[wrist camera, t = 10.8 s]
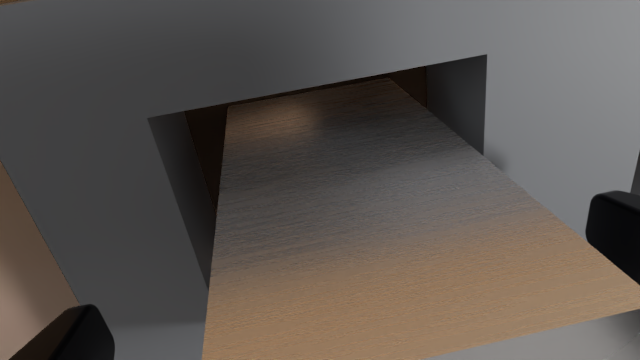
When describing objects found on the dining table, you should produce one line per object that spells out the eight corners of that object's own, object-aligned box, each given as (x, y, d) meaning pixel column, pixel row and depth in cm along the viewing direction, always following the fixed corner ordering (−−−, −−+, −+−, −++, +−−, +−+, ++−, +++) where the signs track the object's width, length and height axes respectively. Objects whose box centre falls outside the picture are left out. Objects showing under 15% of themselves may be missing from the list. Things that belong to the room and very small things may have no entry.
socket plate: (753, 211, 15) (862, 266, 12) (170, 342, 13) (152, 436, 11) (892, -145, 10) (1120, -181, 8) (19, 0, 9) (-78, 18, 6)
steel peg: (396, 212, 13) (589, 531, 6) (261, 239, 12) (284, 613, 5) (388, 77, 11) (661, 303, 4) (228, 106, 10) (196, 411, 3)
